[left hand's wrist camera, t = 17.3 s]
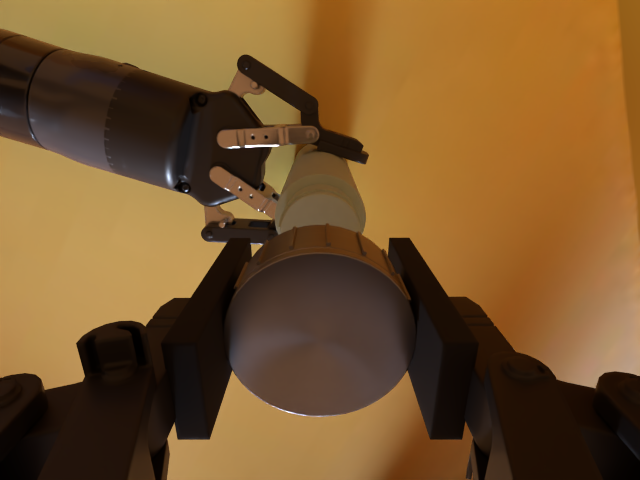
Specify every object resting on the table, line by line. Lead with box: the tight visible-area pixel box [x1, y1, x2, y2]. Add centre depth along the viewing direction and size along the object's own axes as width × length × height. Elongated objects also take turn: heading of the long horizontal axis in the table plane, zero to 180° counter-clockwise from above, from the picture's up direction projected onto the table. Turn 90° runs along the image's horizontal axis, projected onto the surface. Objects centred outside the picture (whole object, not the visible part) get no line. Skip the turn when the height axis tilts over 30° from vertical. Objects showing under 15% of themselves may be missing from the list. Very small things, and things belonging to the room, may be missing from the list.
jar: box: [275, 144, 366, 235], centre depth 26 cm, size 5×5×17 cm
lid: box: [223, 223, 417, 417], centre depth 11 cm, size 5×5×2 cm
